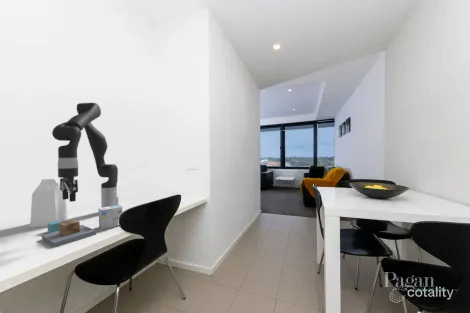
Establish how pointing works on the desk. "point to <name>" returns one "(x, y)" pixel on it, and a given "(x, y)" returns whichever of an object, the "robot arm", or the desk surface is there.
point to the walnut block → (69, 227)
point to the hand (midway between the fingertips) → (69, 200)
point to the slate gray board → (58, 239)
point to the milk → (47, 204)
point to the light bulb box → (109, 216)
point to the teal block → (53, 226)
